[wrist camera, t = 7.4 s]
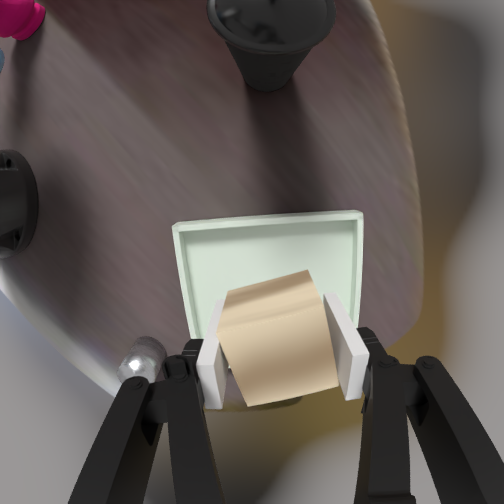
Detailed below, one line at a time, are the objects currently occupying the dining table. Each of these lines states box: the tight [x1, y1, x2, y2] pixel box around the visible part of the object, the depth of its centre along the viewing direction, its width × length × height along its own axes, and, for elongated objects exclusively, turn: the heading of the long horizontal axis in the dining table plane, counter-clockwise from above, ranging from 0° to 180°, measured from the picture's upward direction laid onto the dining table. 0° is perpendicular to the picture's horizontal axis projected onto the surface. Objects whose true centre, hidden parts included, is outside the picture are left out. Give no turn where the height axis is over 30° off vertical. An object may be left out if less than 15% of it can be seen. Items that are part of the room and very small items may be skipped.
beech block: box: [216, 269, 339, 406], centre depth 16 cm, size 5×5×5 cm
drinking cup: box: [207, 0, 336, 92], centre depth 15 cm, size 8×8×20 cm
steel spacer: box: [117, 336, 166, 383], centre depth 31 cm, size 4×4×6 cm
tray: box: [172, 210, 363, 368], centre depth 30 cm, size 19×17×2 cm
